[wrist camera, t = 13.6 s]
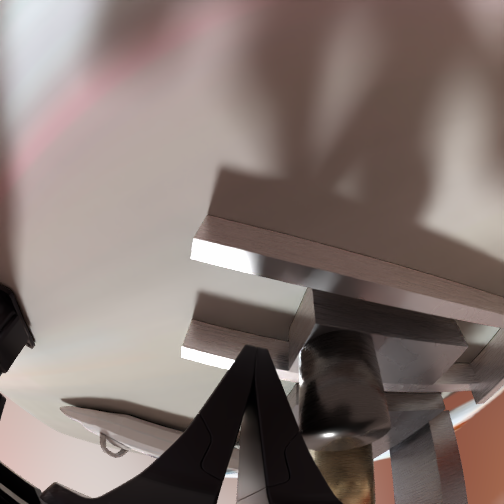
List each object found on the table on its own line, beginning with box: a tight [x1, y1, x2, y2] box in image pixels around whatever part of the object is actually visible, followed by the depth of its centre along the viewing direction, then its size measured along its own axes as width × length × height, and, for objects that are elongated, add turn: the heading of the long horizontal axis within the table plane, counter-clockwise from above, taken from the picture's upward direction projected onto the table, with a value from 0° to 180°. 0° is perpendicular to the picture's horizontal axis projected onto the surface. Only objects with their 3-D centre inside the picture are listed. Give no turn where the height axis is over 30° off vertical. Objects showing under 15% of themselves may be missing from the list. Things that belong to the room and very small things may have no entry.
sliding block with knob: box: [288, 287, 468, 451], centre depth 10 cm, size 8×3×6 cm, turn 77°
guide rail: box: [181, 215, 504, 404], centre depth 11 cm, size 20×6×3 cm, turn 77°
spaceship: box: [60, 406, 239, 474], centre depth 21 cm, size 23×7×4 cm, turn 94°
